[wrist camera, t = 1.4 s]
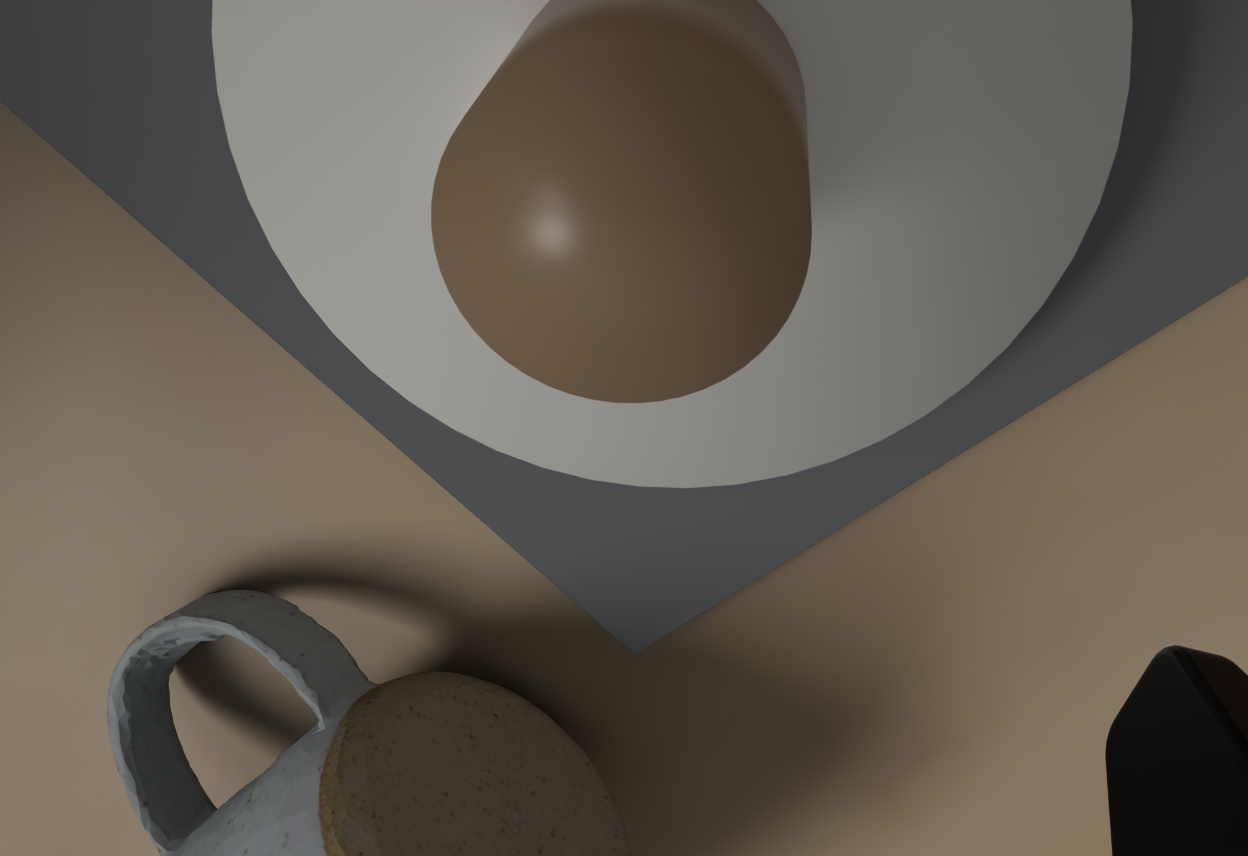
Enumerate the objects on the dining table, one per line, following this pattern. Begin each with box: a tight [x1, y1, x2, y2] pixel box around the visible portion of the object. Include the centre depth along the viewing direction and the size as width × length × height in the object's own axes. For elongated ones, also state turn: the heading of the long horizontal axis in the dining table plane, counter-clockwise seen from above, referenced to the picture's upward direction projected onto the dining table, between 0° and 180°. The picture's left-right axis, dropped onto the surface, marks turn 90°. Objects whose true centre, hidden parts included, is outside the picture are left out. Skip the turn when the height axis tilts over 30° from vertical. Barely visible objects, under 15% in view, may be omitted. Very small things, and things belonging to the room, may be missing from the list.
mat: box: [0, 0, 1248, 654], centre depth 17 cm, size 15×15×1 cm
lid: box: [212, 0, 1133, 488], centre depth 15 cm, size 12×12×5 cm
